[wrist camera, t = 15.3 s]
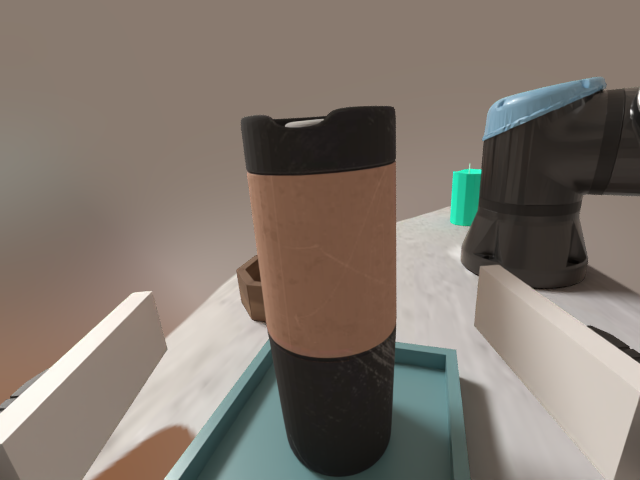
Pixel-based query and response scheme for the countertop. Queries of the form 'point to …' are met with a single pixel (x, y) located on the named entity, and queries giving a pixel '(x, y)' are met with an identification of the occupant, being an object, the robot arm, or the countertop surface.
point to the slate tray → (292, 476)
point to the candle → (465, 196)
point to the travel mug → (328, 277)
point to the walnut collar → (251, 289)
